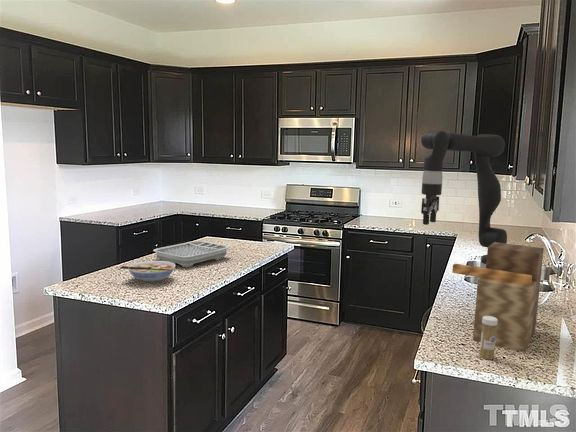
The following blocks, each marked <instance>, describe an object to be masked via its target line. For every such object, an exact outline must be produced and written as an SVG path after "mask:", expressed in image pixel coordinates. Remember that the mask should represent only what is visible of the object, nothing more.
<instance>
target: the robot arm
mask: <svg viewBox="0 0 576 432" xmlns="http://www.w3.org/2000/svg"><path fill="white" fill-rule="evenodd" d="M420 142H421V145H422V146H423V147H424V148H425V149H427V150H432V151H431V154H429V155H426V156H425V157H424V160H423V172H422V178H421V179H422V180H421V195H423V196H424V195H425V197H423V198H422V199H421V207H420V208H421V209H420V210H421V211H420V214H422V216H423V217H422V224H423V225H426V226H429V224H430V223H436V222H437V213H438V211H439V210H440V196H441V195H442V192H443V191H442V188H443V164H444V159H445V157H446V154H447V151H450V152H471V153H473V156H474V161H475V168H476V178H477V180H476V181H477V198H478V201H477V202H478V214H479V215H478V242H479V244H480V246H481V247H484V248H487V249H488V246H490V245H491V244H493V243H494V242H498V243H506V244H508V243H507V242H508V233H507V231H506V230H505V229H502V228H498V227H491V218H492V215H494V214H493V213H494V212H495V210H496V209H497V208H498V207H499V205H500V204H501V201H502V189H501V183H500V180H499V179H498V177H497V175H496V174H495V171H494V170H493V168H492V166H491V162H490V161H491V160H490V158H494V157H495V158H496V157H498V156H500V155H501V154H502V153H504V150H505V147H506V146H505V144H506V143H505V140H504V138H503V137H502V136H500V135H498V134H488V133H487V134H485V133H482V134H481V133H480V134H477V135H470V134H464V133H458V132H446V131H444V130H429V131H426V132H424V133H423V134H422V135H421V137H420ZM439 212H440V211H439ZM486 262H487V254H484V255H482V256H481V257H480V266H479V267H481V268H486ZM479 279H480V277H478V280H479Z"/></svg>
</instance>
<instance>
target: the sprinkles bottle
mask: <svg viewBox="0 0 576 432" xmlns="http://www.w3.org/2000/svg"><path fill="white" fill-rule="evenodd" d="M497 322H498V320H497V318H495V317H492V316H483V318H482V332H481V342H480V343H479V344H480V345H479V346H480V347H479V349H480V350H479V354H478V355H479V357H480V358H482V359H485V360H493V359H495V349H496V345H495V338H496V326H497Z"/></svg>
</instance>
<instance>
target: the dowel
mask: <svg viewBox="0 0 576 432" xmlns="http://www.w3.org/2000/svg"><path fill="white" fill-rule="evenodd" d="M451 272H452V274H455V275H457V274H458V275H464V276H467V277H468V276H469V277H475V278H476V277H477V278H479V277H480V278H486V279H492V280H498V281H505V282H511V283H517V284H523V285H529V286H530V285H531V283H532V275H527V274H520V273H514V272H507V271H501V270H494V269H488V268H481V267H480V266H474V265H467V264H462V263H454V264H452V270H451Z"/></svg>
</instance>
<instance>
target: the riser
mask: <svg viewBox="0 0 576 432" xmlns="http://www.w3.org/2000/svg"><path fill="white" fill-rule="evenodd" d="M544 249H545V248H544V247H538V246H529V245H522V244H513V243H498V242H494V243H493V244H491V245H490V246H488V248H487V252H486V253H487V254H486V255H487V262H486V268H488V269H494V270H501V271H507V272H514V273H520V274H527V275H532V283H531V285H530V286H529V285H523V284H517V283H511V282H505V281H498V280H492V279H486V278H480V279H479V278H478V280H477V285H476V295H475V309H474V310H475V311H474V323H473V335H472V340H473V341H475V342H479V343H481V332H482V318H483V316H492V317H495V318H497V320H498V322H497V326H496V338H495V347H496V346H498V347H500V348H506V349H510V350H515V351H518V352H523V353H526V351H527V350H528V347H529V345H530V343H531V341H532V338H533V336H534V334H535V332H536V327H537V319H538V318H537V316H538V309H539V298H540V289H541V278H542V270H543V269H542V267H543V259H544Z"/></svg>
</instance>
